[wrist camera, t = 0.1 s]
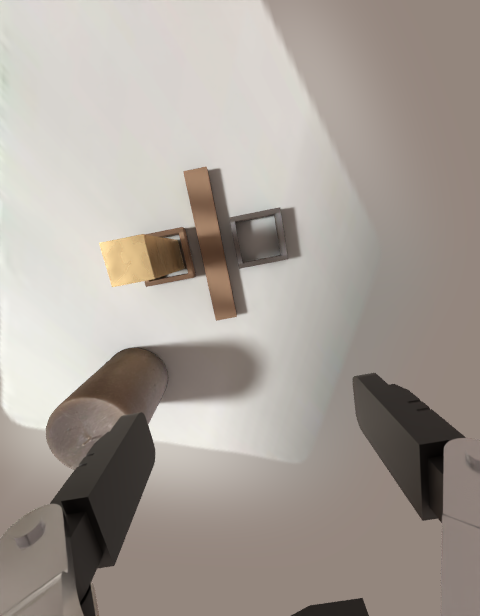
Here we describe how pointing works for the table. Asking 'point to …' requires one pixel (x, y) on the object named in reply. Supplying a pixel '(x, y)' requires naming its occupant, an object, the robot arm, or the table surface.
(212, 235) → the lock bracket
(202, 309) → the table surface
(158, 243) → the tan wooden block
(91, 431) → the pillar candle
